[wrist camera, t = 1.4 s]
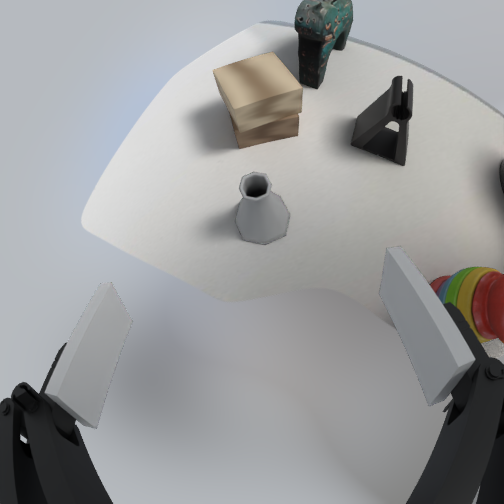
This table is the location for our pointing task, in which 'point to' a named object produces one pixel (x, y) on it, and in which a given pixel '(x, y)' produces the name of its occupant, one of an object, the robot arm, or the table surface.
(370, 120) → the phone stand
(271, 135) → the block lower
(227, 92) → the block upper
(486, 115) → the table surface
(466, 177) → the table surface
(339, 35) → the ceramic cat
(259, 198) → the flask
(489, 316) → the stacking bear
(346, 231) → the table surface
